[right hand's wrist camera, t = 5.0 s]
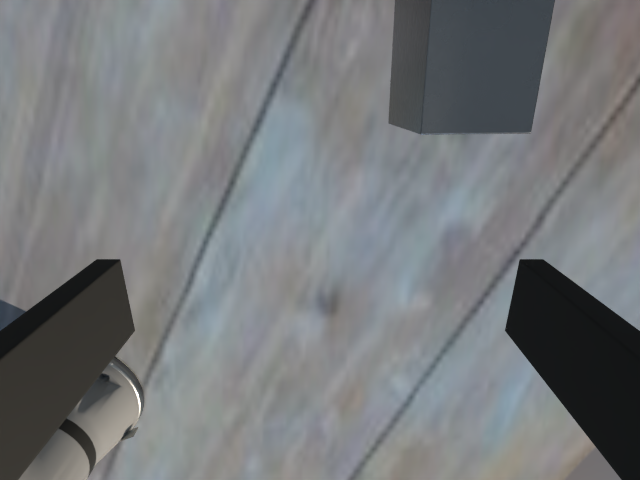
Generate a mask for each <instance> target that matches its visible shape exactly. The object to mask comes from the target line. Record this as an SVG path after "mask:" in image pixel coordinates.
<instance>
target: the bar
mask: <svg viewBox="0 0 640 480" xmlns="http://www.w3.org/2000/svg"><path fill="white" fill-rule="evenodd" d="M554 2H555V0H395V12H394V31H393V49H392V68H391V87H390V106H389V124H392V125H395V126H398V127H401V128H404V129H406V130H409V131H412V132H415V133H418V134H421V135H424V134H528V133H531V129H532V124H533V118H534V112H535V107H536V101H537V96H538V90H539V85H540V79H541V74H542V68H543V63H544V57H545V52H546V46H547V41H548V35H549V30H550V24H551V18H552V13H553V7H554Z"/></svg>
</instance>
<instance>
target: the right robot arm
mask: <svg viewBox="0 0 640 480" xmlns="http://www.w3.org/2000/svg"><path fill="white" fill-rule="evenodd" d="M134 331H135V329H134V324H133V319H132V314H131V309H130V305H129V300H128V295H127V290H126V285H125V280H124V276H123V271H122V266H121V261H120V259H97V260H95V261H94V262H93V263H91V264H90V265H89V266H87V267H86V268H85V269H83V270H82V271H81V272H79V273H78V274H77V275H75V276H74V277H73V278H71V279H70V280H68V281H67V282H66V283H64V284H63V285H62V286H60V287H59V288H58V289H56V290H55V291H54V292H52V293H51V294H50V295H48V296H47V297H46V298H44V299H43V300H42V301H40V302H39V303H38V304H36V305H35V306H33V307H32V308H31V309H29V310H28V311H27V312H25V313H24V314H23V315H21V316H20V317H19V318H17V319H16V320H15V321H13V322H12V323H11V324H9V325H8V326H7V327H5V328H4V329H2V330H1V331H0V480H87V478H88V477H89V475H90V473H91V472H92V470H93V468H94V466H95V465H96V464H97V463H98V462H99V461H100V460H101V459H102V458H103V457H104V456H105V455H106V454H107V453H108V452H109V451H110V450H111V449H112V448H113V447H114V446H115V445H116V444H118V443H119V442H120V441H122V440H125V439H128V438H131V437H133V436H134V434H135V433H136V431H137V429H138V427H137V428H134V426H135V425H136V423H137V421H138V419H139V417H140V415H141V413H142V411H143V407H144V395H143V390H142V387H141V385H140V383H139V381H138V379H137V378H136V376H135V375H134V374H133V372H132V371H131V370H130V369H129V368H128V367H127V366H126V365H125V364H123V363H122V362H121V361H119V360H118V359H116V358H115V355H116V354H117V353H118V352H119V350H120V349H121V348H122V346H123V345H124V344H125V343H126V341H127V340H128V339H129V337H130V336H131V335H132V334H133V332H134ZM505 331H506V332H507V334H508V335H509V336H510V337H511V339H512V340H513V341H514V343H515V344H516V345H517V346H518V348H519V349H520V350H521V352H522V353H523V354H524V355H525V357H526V358H527V359H528V361H529V362H530V363H531V364H532V366H533V367H534V368H535V369H536V371H537V372H538V373H539V375H540V376H541V377H542V378H543V380H544V381H545V382H546V384H547V385H548V386H549V387H550V389H551V390H552V391H553V392H554V394H555V395H556V396H557V398H558V399H559V400H560V401H561V403H562V404H563V405H564V407H565V408H566V409H567V410H568V412H569V413H570V414H571V416H572V417H573V418H574V419H575V421H576V422H577V423H578V424H579V426H580V427H581V428H582V430H583V431H584V432H585V433H586V435H587V436H588V437H589V439H590V440H591V441H592V442H593V444H594V445H595V446H596V447H597V449H598V450H599V451H600V453H601V454H602V455H603V456H604V458H605V459H606V460H607V462H608V463H609V464H610V465H611V467H612V468H613V469H614V471H615V472H616V473H617V474H618V476H619V477H620V478H621V479H622V480H640V331H639V330H638V329H636V328H635V327H633V326H632V325H631V324H629V323H628V322H627V321H625V320H624V319H623V318H621V317H620V316H619V315H617V314H616V313H615V312H613V311H612V310H611V309H609V308H608V307H607V306H605V305H604V304H602V303H601V302H600V301H598V300H597V299H596V298H594V297H593V296H592V295H590V294H589V293H588V292H586V291H585V290H584V289H582V288H581V287H580V286H578V285H577V284H576V283H574V282H573V281H572V280H570V279H569V278H567V277H566V276H565V275H563V274H562V273H561V272H559V271H558V270H557V269H555V268H554V267H553V266H551V265H550V264H549V263H547V262H546V261H545V260H543V259H520V261H519V266H518V271H517V276H516V280H515V285H514V290H513V295H512V300H511V305H510V309H509V314H508V319H507V324H506V329H505ZM133 428H134V429H133Z"/></svg>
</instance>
